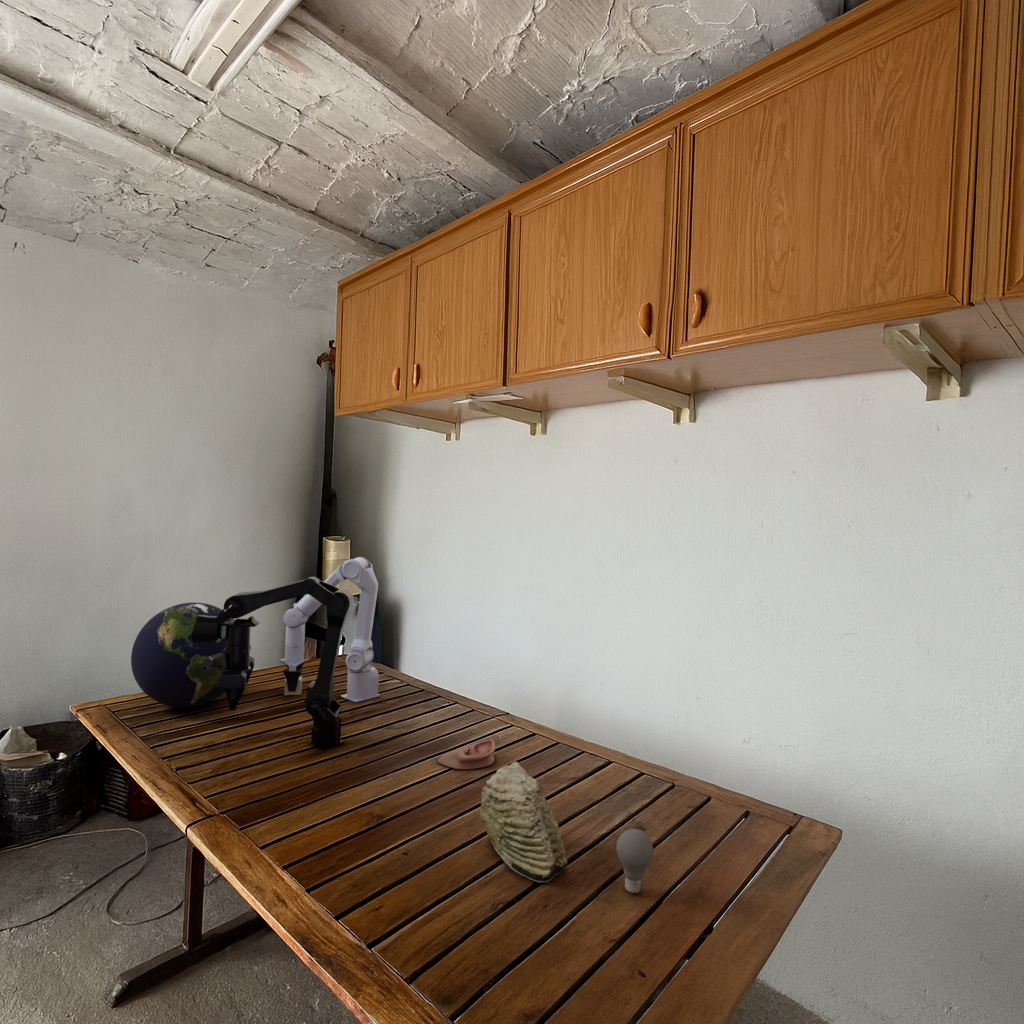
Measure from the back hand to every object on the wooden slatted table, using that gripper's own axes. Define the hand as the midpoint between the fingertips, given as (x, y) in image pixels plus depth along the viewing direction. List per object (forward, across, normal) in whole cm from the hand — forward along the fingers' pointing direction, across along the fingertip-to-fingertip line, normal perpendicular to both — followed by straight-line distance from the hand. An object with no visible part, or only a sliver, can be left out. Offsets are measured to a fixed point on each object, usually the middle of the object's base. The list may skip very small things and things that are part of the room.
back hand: (293, 687), depth 202 cm
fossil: (+1, +103, +46) cm, 113 cm away
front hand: (-8, +40, -11) cm, 42 cm away
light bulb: (+1, +116, +62) cm, 132 cm away
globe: (+2, +9, -28) cm, 30 cm away
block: (+2, 0, 0) cm, 2 cm away
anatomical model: (+1, +60, +45) cm, 75 cm away
